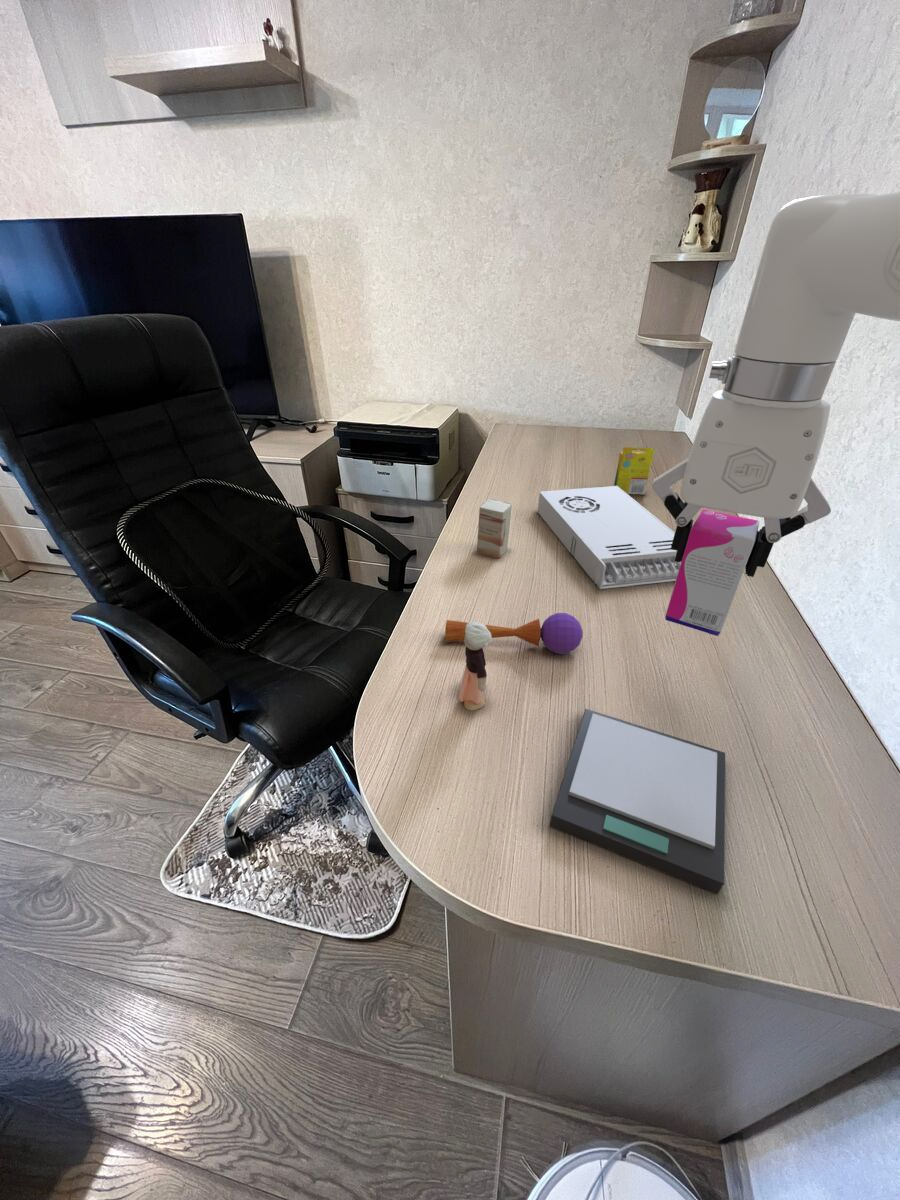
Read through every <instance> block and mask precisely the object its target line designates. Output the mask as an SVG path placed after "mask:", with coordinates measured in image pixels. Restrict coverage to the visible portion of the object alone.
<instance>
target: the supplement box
mask: <svg viewBox="0 0 900 1200" xmlns="http://www.w3.org/2000/svg"><path fill="white" fill-rule="evenodd" d="M760 523H761V521H760V520H759V519H752V518H749V517H748V518H747V517H743V516H739V515H733V514H727V513H723V512H718V511H715V510H710V509H702V510H701V512H700V514H699V515H698V517H697V518H696V519H695V522H693V525H692V528H691V531H690V534H689V538H688V541H687V545H686V548H685V551H684V555H683V558H682V561H681V565H680V568H679V572H678V575H677V579H676V581H674V582H675V583H674V586H673V589H672V593H671V596H670V599H669V603H668V606H667V609H666V612H665V616H664V619H665V621H666V622H667V621H668V622H671V623H674V624H677V625H681V626H684V627H686V628H691V629H694V630H697V631H699V632H703V633H706V634H709V635H712V636H715V637H719V636H720V634H721V632H722V630H723V628H724V624H725V622H726V619H727V617H728V615H729V612H730V609H731V606H732V603H733V602H734V601H733V600H734V598H735V596H736V593H737V590H738V587H739V585H740V582H741V579H742V577H743V574H744V572H745V566H746V564H747V561H748V558H749V556H750V553H751V550H752V548H753V545H754V542H755V539H756V535H757V531H759V528H760Z"/></svg>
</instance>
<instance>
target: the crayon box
mask: <svg viewBox="0 0 900 1200" xmlns="http://www.w3.org/2000/svg"><path fill="white" fill-rule="evenodd" d="M638 450H639V451H638ZM654 452H655V447H640V446H639V447H637V446H636V447H635V446H623V450H622V451H620V452H619V456H618V460H617V461H618V462H617V467H616V472H615V477H614V483H613V486H618V487H619V488H620V489H622V490H623V491H624V492H625V493H627V494H628V495H642V496H645V494H646V489H647V485H648V481H649V476H650V475H649V474H650V471H651V467H652V462H653V457H654Z"/></svg>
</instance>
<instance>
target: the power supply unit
mask: <svg viewBox="0 0 900 1200" xmlns="http://www.w3.org/2000/svg"><path fill="white" fill-rule="evenodd" d="M537 512H538V514H539V515H540V516H541V518H542V519H543V520H544V522H545V523H546V524H547V526H548V527H549V528H550V530H551V531H552V532H553V533H554V534H555V535H556V537H557V538H558V539H559V541H560V542H561V543H562V544H563V546H564V547H565V548H566V549H567V550H568V552H569V553H570V554H571V555H572V556H573V558H574V559H575V560H576V561H577V563H578V564H579V565H580V566H581V568H582V569H583V570H584V571H585V573H586V574H587V575H588V576H589V578H590V579H591V580H592V582H593V583H594V584H595V585H596V586H597V588H598V589H599V590H608V589H616V588H625V587H634V586H642V585H643V586H645V585H652V584H653V585H654V584H661V583H670V582H676V579H677V575H678V572H679V568H680V565H681V561H680V562H676V561H675V557H676V553H677V551H676V550H671V545H672V542H673V538H674V535H675V531H674V530H672V529H671V528H670V527H669V526H668V525H666V524H665V523H664V522H663V521H661V520H660V519H659V518H658V517H657V516H655V515H654V514H652V513H651V512H650V511H649V510H648V509H646V507H644V506H643V505H642V504H641V503H639V502H638V501H637V500H635V499H634V498H633V497H631V495H630V494H627V493H625V492H624V491H623V490H622V489H620V488H619V487H618V486H614V485H610V486H597V487H583V488H570V489H555V490H544V491H543V490H542V491H539V494H538V504H537Z"/></svg>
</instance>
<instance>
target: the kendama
mask: <svg viewBox="0 0 900 1200" xmlns="http://www.w3.org/2000/svg"><path fill="white" fill-rule="evenodd" d="M468 623H469V622H466V621H458V620H451V619H450V620H449V619H447V620H446V621H445V628H444V629H445V631H444V633H445V634H444V635H445V642H447V643H450V642H463V641H464V637H465V634H466V633H465V627H466V625H467V624H468ZM484 625H485V626H486V627H487V629H488V630H489V632H490V633H491V637H492V639H497V638H506V637H507V638H509V637H516V638H519V639H520V640H522V641H524V642H527V643H529V644H531V645H532V646H535V647H538V648H539V647H540V643H541V641H542V645H544V646H545V647H546V649H548V650H549V651H550V652H552V653H555V654H561V655H562V654H563V655H564V654H568V653H571V652H574V651H575V649H576V648H578V647H579V646H580V644H581V641H582V639H583V627H582V625H581V624H580V622H579V620H577V618H576V617H575V616H573V615H571V614H569V613H567V612H555V613H553V614H551V615H549V616H548V617H547V618H546V619H545V620H543V623H542V625H541V622H540V618H537V619H534V620H532V621H530V622H528V623H525V624H522V625H520V626H517V627H516V628H513V627H507V626H499V625H498V626H497V625H490V624H489V625H488V624H484Z"/></svg>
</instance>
